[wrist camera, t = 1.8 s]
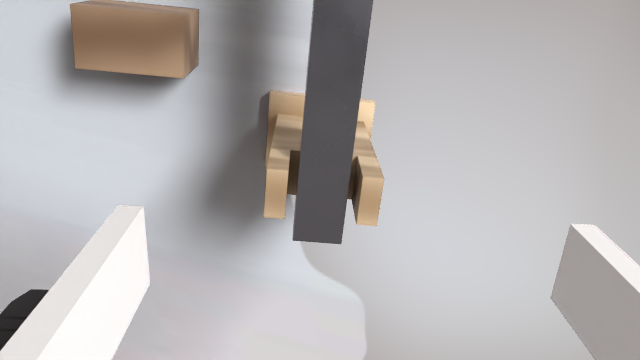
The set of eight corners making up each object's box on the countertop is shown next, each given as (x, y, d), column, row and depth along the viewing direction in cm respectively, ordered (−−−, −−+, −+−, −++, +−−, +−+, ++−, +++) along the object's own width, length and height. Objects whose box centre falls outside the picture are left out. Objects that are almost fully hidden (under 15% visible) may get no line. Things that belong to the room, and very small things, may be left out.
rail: (338, 226, 34) (341, 244, 32) (293, 222, 34) (292, 240, 32) (408, -321, 23) (418, -350, 21) (343, -330, 23) (346, -361, 21)
